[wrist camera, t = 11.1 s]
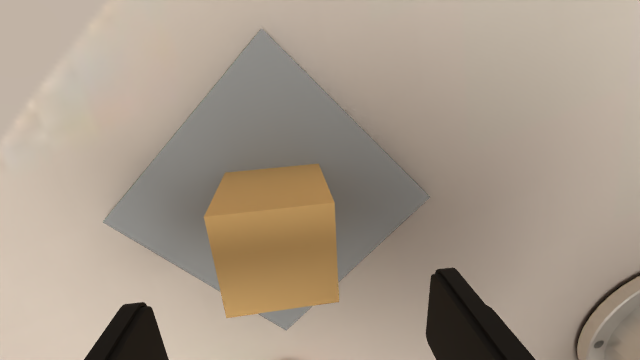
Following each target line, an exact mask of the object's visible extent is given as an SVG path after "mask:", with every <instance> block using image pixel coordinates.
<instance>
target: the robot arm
mask: <svg viewBox="0 0 640 360" xmlns="http://www.w3.org/2000/svg"><path fill="white" fill-rule="evenodd" d="M426 337H427V341H428V344H429V346H430V348H431V350H432V352H433V354H434V356H435V358H436V360H535V358H534V357H533V356H532V355H531V354H530V353H529V351H528V350H527V349H526V348H525V347H524V346H523V344H522V343H521V342H520V341H519V340H518V338H517V337H516V336H515V335H514V334H513V333H512V331H511V330H510V329H509V328H508V327H507V325H506V324H505V323H504V322H503V321H502V320H501V318H500V317H499V316H498V315H497V314H496V312H495V311H494V310H493V309H492V308H491V307H489V306H487V305H485V303H484V302H483V301H482V300H481V299H480V297H479V296H478V295H477V294H476V293H475V291H474V290H473V289H472V288H471V287H470V285H469V284H468V283H467V282H466V281H465V279H464V278H463V277H462V276H461V275H460V273H459V272H458V271H457V270H456V269H455V268H445V269H438V270H436V272H435V274H433V275H432V276H431V282H430V293H429V304H428V316H427V327H426ZM577 354H578V359H579V360H640V276H638V277H636V278H634V279H633V280H631V281H629V282H628V283H626V284H624V285H623V286H621V287H620V288H619V289H617V290H616V291H615V292H613V293H612V294H611V295H610V296H609V297H607V298H606V299H605V300H604V301H603V302H602V303H601V304H600V305H599V306H598V307H597V309H596V310H595V311H594V312H593V313H592V315H591V316H590V317H589V319H588V321H587V322H586V324H585V325H584V327H583V329H582V332H581V334H580V337H579V340H578V346H577ZM84 360H169V359H168V356H167V353H166V350H165V347H164V344H163V341H162V338H161V335H160V331H159V328H158V325H157V322H156V319H155V316H154V313H153V310H152V308H151V307H150V306H148V307H147V305H146V304H145V303H144V302H141V303H132V304H125V305H123V306H122V307H121V308H120V309H119V311H118V312H117V313H116V315H115V316H114V318H113V319H112V321H111V322H110V323H109V325H108V326H107V328H106V329H105V331H104V332H103V333H102V335H101V336H100V338H99V339H98V340H97V342H96V343H95V345H94V346H93V348H92V349H91V350H90V352H89V353H88V355H87V356H86V358H85V359H84Z"/></svg>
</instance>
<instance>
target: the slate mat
mask: <svg viewBox="0 0 640 360" xmlns="http://www.w3.org/2000/svg"><path fill="white" fill-rule="evenodd" d="M309 164H319V166H320V168H321V171H322V173H323V176H324V178H325V180H326V183H327V185H328V188H329V190H330V193H331V195H332V197H333V200H334V202H335V223H336V245H337V268H338V282H339V281H340V280H341V279H342V278H343V277H344V276H346V275H347V274H348V273H349V272H350V271H351V270H352V269H353V268H354V267H355V266H356V265H357V264H359V263H360V262H361V261H362V260H363V259H364V258H365V257H366V256H367V255H368V254H369V253H370V252H371V251H373V250H374V249H375V248H376V247H377V246H378V245H379V244H380V243H381V242H382V241H383V240H384V239H386V238H387V237H388V236H389V235H390V234H391V233H392V232H393V231H394V230H395V229H396V228H397V227H398V226H400V225H401V224H402V223H403V222H404V221H405V220H406V219H407V218H408V217H409V216H410V215H411V214H412V213H414V212H415V211H416V210H417V209H418V208H419V207H420V206H421V205H422V204H423V203H424V202H425V201H427V200H428V199H429V198H430V196H429V195H428V194H427V193H426V192H425V191H424V190H423V189H422V188H421V187H420V186H419V185H418V184H417V183H416V182H415V181H414V180H413V179H412V178H411V177H410V176H409V175H408V174H407V173H406V172H405V171H404V170H403V169H402V168H401V167H400V166H399V165H398V164H397V163H396V162H395V161H394V160H393V159H392V158H391V157H390V156H389V155H388V154H387V153H386V152H385V151H384V150H383V149H382V148H381V147H380V146H379V145H378V144H377V143H376V142H375V141H374V140H373V139H372V138H371V137H370V136H369V135H368V134H367V133H366V132H365V131H364V130H363V129H362V128H361V127H360V126H359V125H358V124H357V123H356V122H355V121H354V120H353V119H352V118H351V117H350V116H349V115H348V114H347V113H346V112H345V111H344V110H343V109H342V108H341V107H340V106H339V105H338V104H337V103H336V102H335V101H334V100H333V99H332V98H331V97H330V96H329V95H328V94H327V93H326V92H325V91H324V90H323V89H322V88H321V87H320V86H319V85H318V84H317V83H316V82H315V81H314V80H313V79H312V78H311V77H310V76H309V75H308V74H307V73H306V72H305V71H304V70H303V69H302V68H301V67H300V66H299V65H298V64H297V63H296V62H295V61H294V60H293V59H292V58H291V57H290V56H289V55H288V54H287V53H286V52H285V51H284V50H283V49H282V48H281V47H280V46H279V45H278V44H277V43H276V42H275V41H274V40H273V39H272V38H271V37H270V36H269V35H268V34H267V33H266V32H265V31H264V30H263V29H261V30H260V31H259V32H258V34H257V35H256V36H255V37H254V38H253V40H252V41H251V42H250V43H249V44H248V46H247V47H246V48H245V49H244V51H243V52H242V53H241V54H240V55H239V57H238V58H237V59H236V60H235V61H234V63H233V64H232V65H231V66H230V68H229V69H228V70H227V71H226V72H225V74H224V75H223V76H222V77H221V79H220V80H219V81H218V82H217V83H216V85H215V86H214V87H213V88H212V89H211V91H210V92H209V93H208V94H207V96H206V97H205V98H204V99H203V100H202V102H201V103H200V104H199V105H198V107H197V108H196V109H195V110H194V111H193V113H192V114H191V115H190V116H189V117H188V119H187V120H186V121H185V122H184V124H183V125H182V126H181V127H180V128H179V130H178V131H177V132H176V133H175V134H174V136H173V137H172V138H171V139H170V141H169V142H168V143H167V144H166V145H165V147H164V148H163V149H162V150H161V152H160V153H159V154H158V155H157V156H156V158H155V159H154V160H153V161H152V162H151V164H150V165H149V166H148V167H147V169H146V170H145V171H144V172H143V173H142V175H141V176H140V177H139V178H138V179H137V181H136V182H135V183H134V184H133V186H132V187H131V188H130V189H129V190H128V192H127V193H126V194H125V195H124V197H123V198H122V199H121V200H120V201H119V203H118V204H117V205H116V206H115V207H114V209H113V210H112V211H111V212H110V214H109V215H108V216H107V217H106V218H105V220H104V221H103V223H105V224H107V225H108V226H110V227H112V228H113V229H115V230H117V231H118V232H120V233H122V234H123V235H125V236H127V237H129V238H130V239H132V240H134V241H135V242H137V243H139V244H140V245H142V246H144V247H146V248H147V249H149V250H151V251H152V252H154V253H156V254H157V255H159V256H161V257H162V258H164V259H166V260H168V261H169V262H171V263H173V264H174V265H176V266H178V267H179V268H181V269H183V270H185V271H186V272H188V273H190V274H191V275H193V276H195V277H196V278H198V279H200V280H201V281H203V282H205V283H207V284H208V285H210V286H212V287H213V288H215V289H217V290H218V291H220V287H219V282H218V278H217V274H216V269H215V265H214V260H213V256H212V251H211V247H210V243H209V238H208V234H207V229H206V225H205V220H204V215H205V213H206V211H207V209H208V207H209V205H210V203H211V201H212V199H213V197H214V195H215V193H216V190H217V188H218V186H219V184H220V182H221V180H222V178H223V176H224V174H225V173H226V172H237V171H247V170H257V169H267V168H278V167H288V166H298V165H309ZM220 292H221V291H220ZM311 307H312V306H307V307H300V308H293V309H286V310H279V311H272V312H265V313H258V314H259V315H261V316H262V317H264V318H266V319H268V320H269V321H271V322H273V323H274V324H276V325H278V326H279V327H281V328H283V329H285V330H287V329H288V328H289V327H291V326H292V325H293V324H294V323H295V322H296V321H297V320H298V319H299V318H300V317H301V316H302V315H303V314H305V313H306V312H307V311H308V310H309V309H310V308H311Z"/></svg>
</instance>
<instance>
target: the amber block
mask: <svg viewBox="0 0 640 360" xmlns="http://www.w3.org/2000/svg"><path fill="white" fill-rule="evenodd" d="M204 220H205V225H206V229H207V234H208V238H209V243H210V247H211V251H212V256H213V260H214V265H215V269H216V274H217V278H218V282H219V287H220V291H221V296H222V300H223V305H224V309H225V313H226V318H231V317H237V316H244V315H251V314H258V313H265V312H272V311H279V310H286V309H293V308H300V307H307V306H314V305H321V304H328V303H335V302H339V290H338V268H337V245H336V223H335V202H334V200H333V197H332V195H331V193H330V190H329V188H328V185H327V183H326V180H325V178H324V176H323V173H322V171H321V168H320V166H319V164H309V165H298V166H288V167H278V168H267V169H257V170H247V171H237V172H226V173H225V174H224V176H223V178H222V180H221V182H220V184H219V186H218V188H217V190H216V193H215V195H214V197H213V199H212V201H211V203H210V205H209V207H208V209H207V211H206V213H205V215H204Z"/></svg>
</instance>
